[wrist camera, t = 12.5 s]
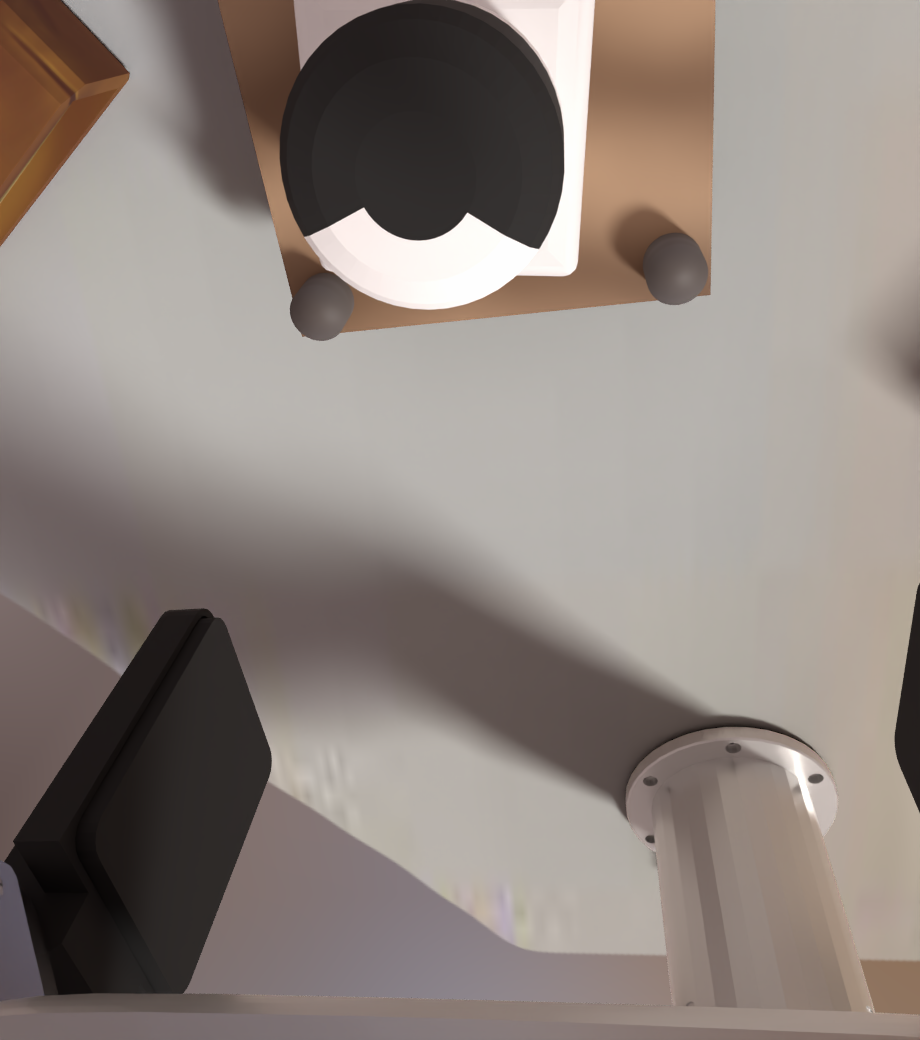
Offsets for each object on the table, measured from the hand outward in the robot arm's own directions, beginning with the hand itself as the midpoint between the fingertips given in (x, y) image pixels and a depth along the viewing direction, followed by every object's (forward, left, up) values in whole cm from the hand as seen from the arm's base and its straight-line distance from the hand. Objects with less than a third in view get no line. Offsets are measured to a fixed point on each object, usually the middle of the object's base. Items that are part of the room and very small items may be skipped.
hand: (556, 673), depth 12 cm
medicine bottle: (+5, +3, -22) cm, 22 cm away
